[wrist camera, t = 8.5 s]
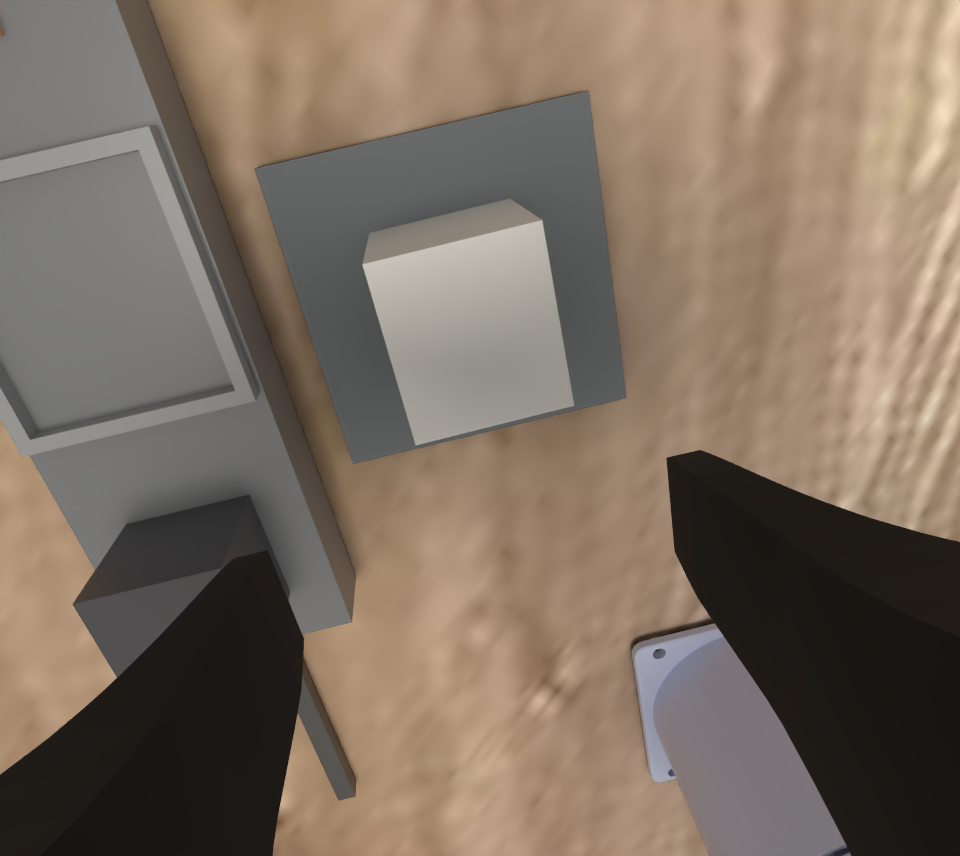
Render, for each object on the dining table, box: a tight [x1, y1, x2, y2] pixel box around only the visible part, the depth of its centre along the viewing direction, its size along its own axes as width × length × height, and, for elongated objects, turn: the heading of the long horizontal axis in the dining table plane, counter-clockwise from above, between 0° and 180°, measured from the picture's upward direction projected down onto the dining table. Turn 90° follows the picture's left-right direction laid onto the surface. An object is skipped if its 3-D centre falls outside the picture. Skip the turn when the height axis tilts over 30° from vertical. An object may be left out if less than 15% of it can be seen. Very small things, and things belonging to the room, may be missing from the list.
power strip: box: [0, 0, 356, 800], centre depth 19 cm, size 6×29×6 cm, turn 12°
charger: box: [362, 198, 574, 445], centre depth 17 cm, size 4×4×4 cm
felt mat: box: [255, 91, 626, 464], centre depth 20 cm, size 9×9×1 cm
